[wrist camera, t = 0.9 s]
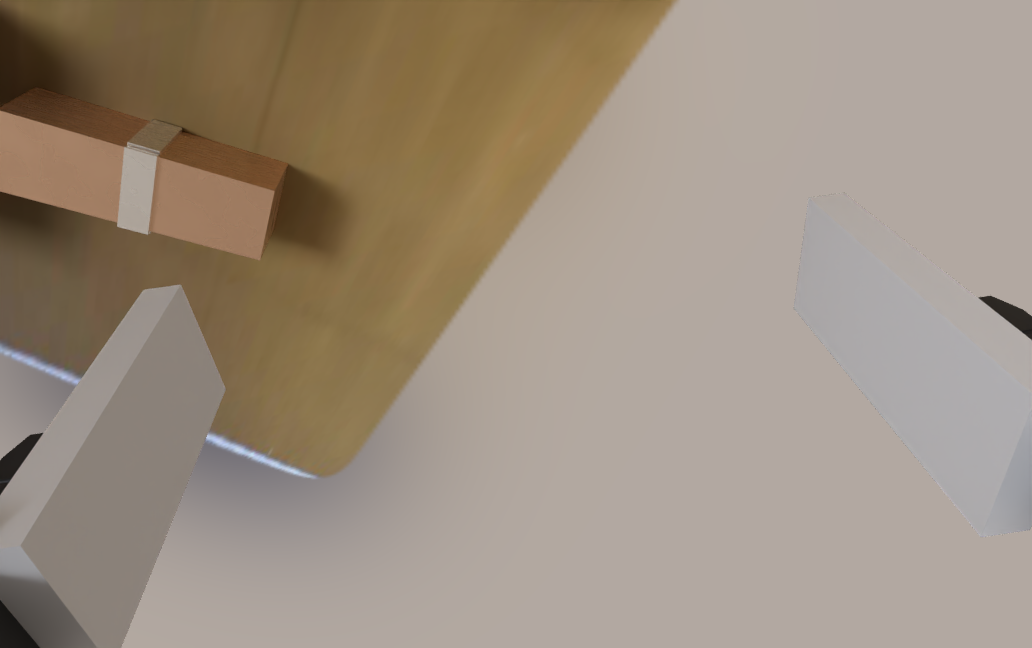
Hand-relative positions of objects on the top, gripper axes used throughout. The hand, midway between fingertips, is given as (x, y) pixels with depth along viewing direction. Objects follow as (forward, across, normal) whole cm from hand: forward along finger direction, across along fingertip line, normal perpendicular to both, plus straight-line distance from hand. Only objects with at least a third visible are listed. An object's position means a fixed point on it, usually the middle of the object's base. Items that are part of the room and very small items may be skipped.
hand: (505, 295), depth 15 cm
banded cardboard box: (+24, -16, -4) cm, 29 cm away
